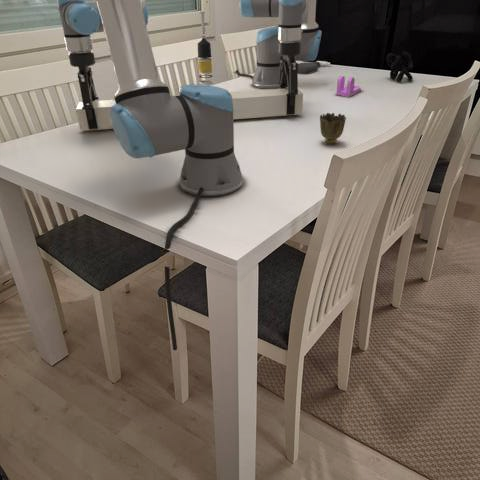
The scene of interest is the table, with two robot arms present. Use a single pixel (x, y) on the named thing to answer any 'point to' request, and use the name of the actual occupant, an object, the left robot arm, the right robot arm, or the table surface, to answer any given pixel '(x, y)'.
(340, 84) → the bracket
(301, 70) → the frying pan
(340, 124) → the cup
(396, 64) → the squiggle
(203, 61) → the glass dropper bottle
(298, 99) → the slab
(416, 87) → the table surface
